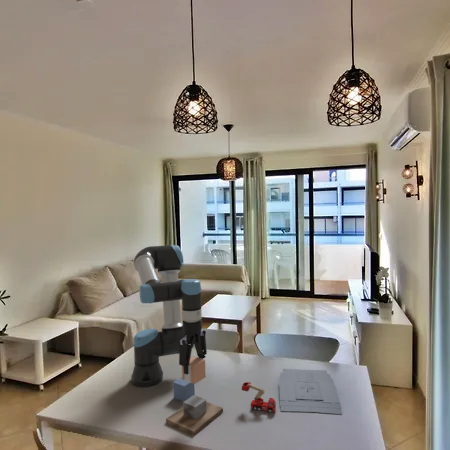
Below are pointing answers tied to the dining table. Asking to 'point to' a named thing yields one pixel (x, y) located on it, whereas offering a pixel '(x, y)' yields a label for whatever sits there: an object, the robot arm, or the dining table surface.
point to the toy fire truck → (260, 399)
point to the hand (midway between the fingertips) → (194, 377)
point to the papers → (308, 391)
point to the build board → (194, 423)
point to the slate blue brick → (183, 389)
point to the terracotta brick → (196, 369)
